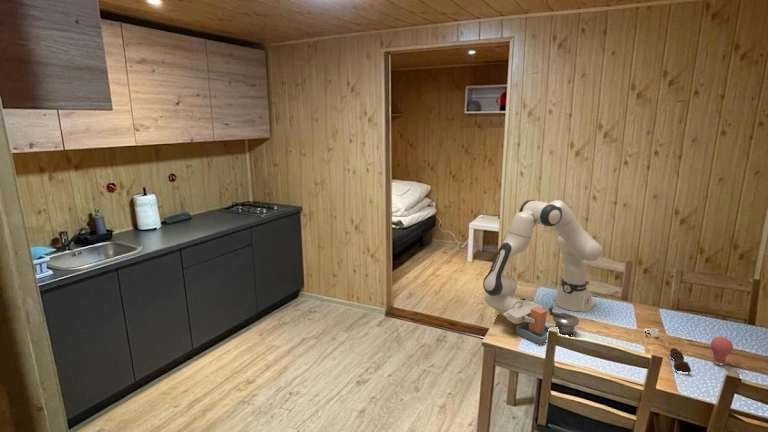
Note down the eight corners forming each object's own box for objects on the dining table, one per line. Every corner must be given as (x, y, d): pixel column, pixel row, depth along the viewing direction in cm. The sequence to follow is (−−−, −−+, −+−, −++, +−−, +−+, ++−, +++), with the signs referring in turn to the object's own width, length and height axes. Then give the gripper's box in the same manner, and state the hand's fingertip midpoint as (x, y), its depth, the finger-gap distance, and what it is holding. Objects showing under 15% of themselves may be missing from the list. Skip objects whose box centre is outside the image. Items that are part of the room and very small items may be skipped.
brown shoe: (674, 359, 178) (683, 378, 164) (663, 351, 179) (671, 369, 165) (685, 350, 175) (694, 368, 162) (673, 342, 177) (682, 359, 163)
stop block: (534, 326, 193) (537, 306, 191) (544, 330, 189) (547, 310, 187) (528, 329, 190) (530, 309, 188) (537, 333, 186) (540, 313, 184)
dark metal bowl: (579, 331, 195) (582, 310, 193) (573, 341, 187) (576, 319, 184) (550, 322, 203) (553, 302, 201) (543, 331, 195) (546, 310, 192)
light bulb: (702, 359, 175) (708, 333, 172) (718, 359, 175) (724, 333, 172) (716, 369, 168) (723, 342, 165) (733, 369, 168) (739, 342, 166)
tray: (532, 326, 199) (533, 319, 198) (556, 337, 189) (557, 330, 188) (516, 334, 192) (516, 327, 191) (540, 346, 182) (541, 339, 181)
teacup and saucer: (642, 330, 199) (643, 322, 198) (661, 334, 195) (663, 326, 194) (643, 339, 191) (645, 331, 190) (664, 343, 187) (666, 335, 186)
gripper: (500, 307, 192) (526, 319, 181) (527, 297, 204) (553, 307, 193) (499, 319, 193) (524, 332, 182) (526, 308, 205) (551, 320, 194)
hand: (539, 319), depth 188 cm, fingers closed on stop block, 5 cm apart
